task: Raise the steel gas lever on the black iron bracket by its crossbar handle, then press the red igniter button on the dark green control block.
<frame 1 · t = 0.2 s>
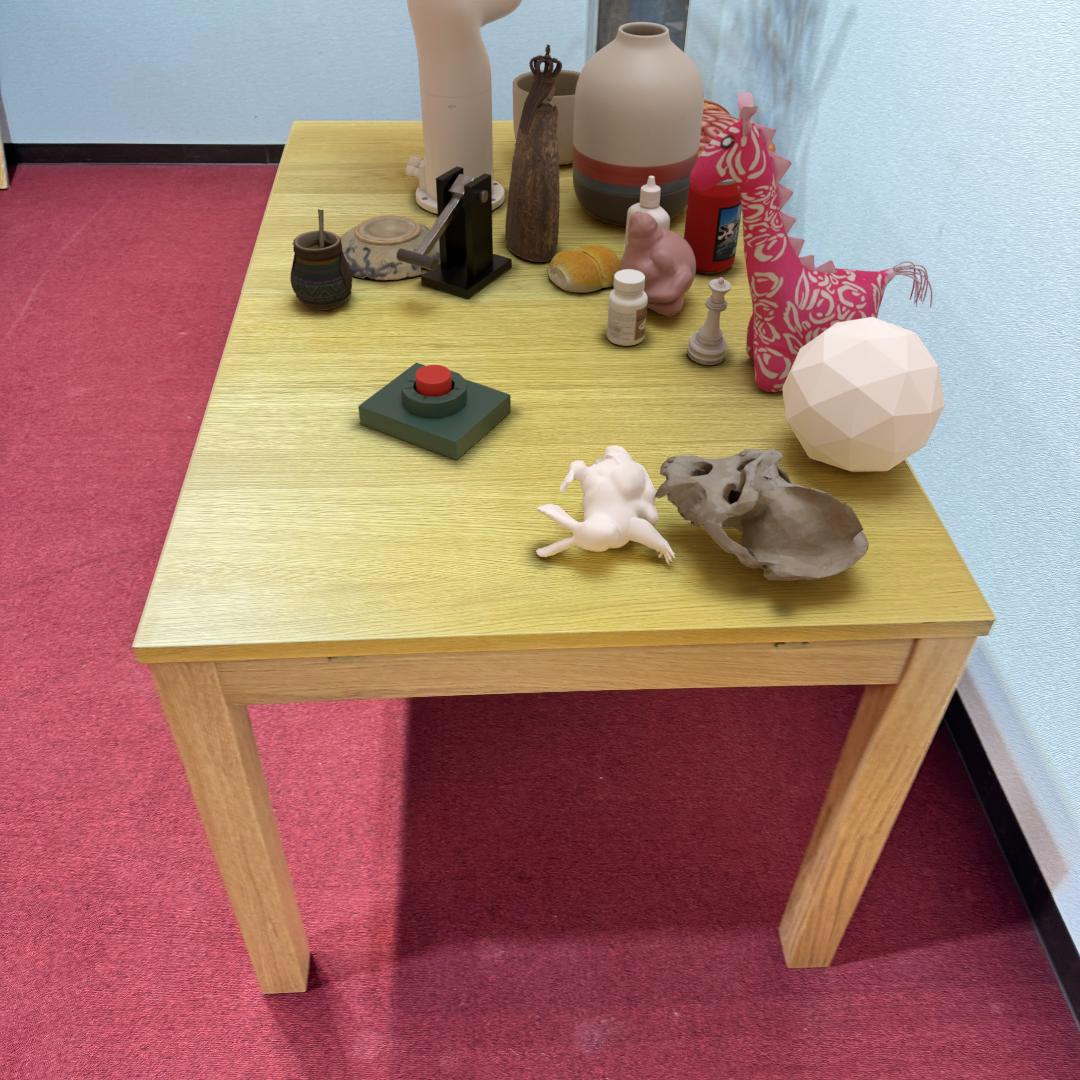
mate gourd: (324, 302, 130), on the table
eye dropper bottle: (644, 270, 138), on the table
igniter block: (436, 418, 112), on the table
toy: (793, 377, 119), on the table
statue: (533, 250, 142), on the table
geometric shape: (833, 378, 110), point 5 cm above the table
anatomical model: (752, 171, 152), point 4 cm above the table
rabbit figurine: (638, 511, 98), point 1 cm above the table, touching skull
beverage can: (707, 266, 139), on the table
pill bottle: (625, 339, 125), on the table
gas lever: (442, 222, 127), point 9 cm above the table, hinge at -25.0°
igniter button: (433, 381, 109), point 4 cm above the table, slide at 0.1 cm
lever bracket: (467, 276, 136), on the table
chess piece: (705, 355, 122), on the table
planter: (553, 157, 166), on the table
decorative bowl: (389, 255, 140), on the table
vase: (631, 210, 151), on the table
skull: (686, 543, 101), on the table, touching rabbit figurine
figurine: (658, 307, 130), on the table
bread roll: (584, 281, 135), on the table
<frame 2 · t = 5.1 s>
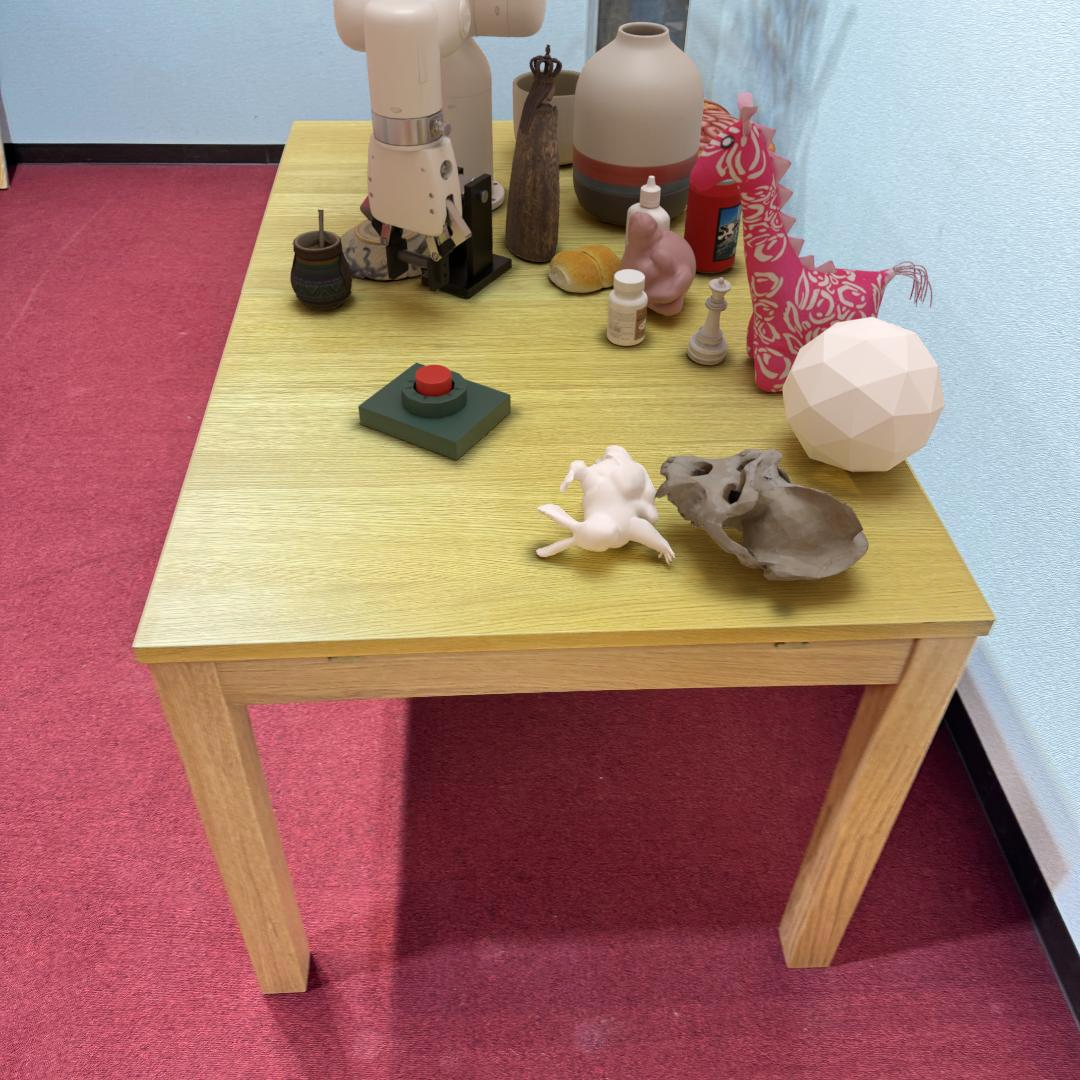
hand: (418, 279, 127), 4 cm above the table, tool pointing down, fingers closed on gas lever, 5 cm apart
gas lever: (442, 222, 127), point 9 cm above the table, hinge at -25.0°, touching gripper
everything else where it was.
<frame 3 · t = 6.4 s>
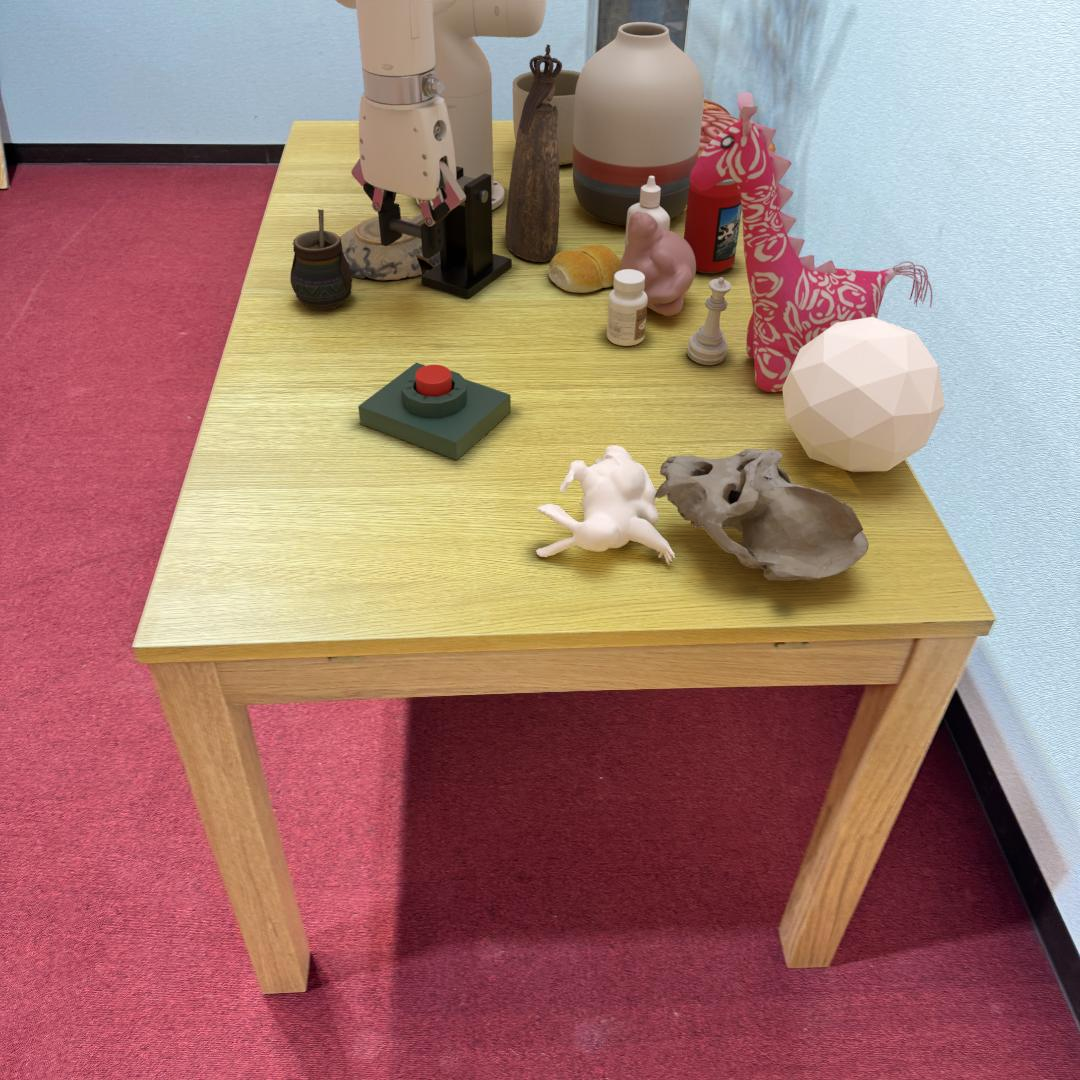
hand: (412, 246, 123), 8 cm above the table, tool pointing down, fingers closed on gas lever, 5 cm apart
gas lever: (439, 208, 125), point 11 cm above the table, hinge at -2.6°, touching gripper
everything else where it was.
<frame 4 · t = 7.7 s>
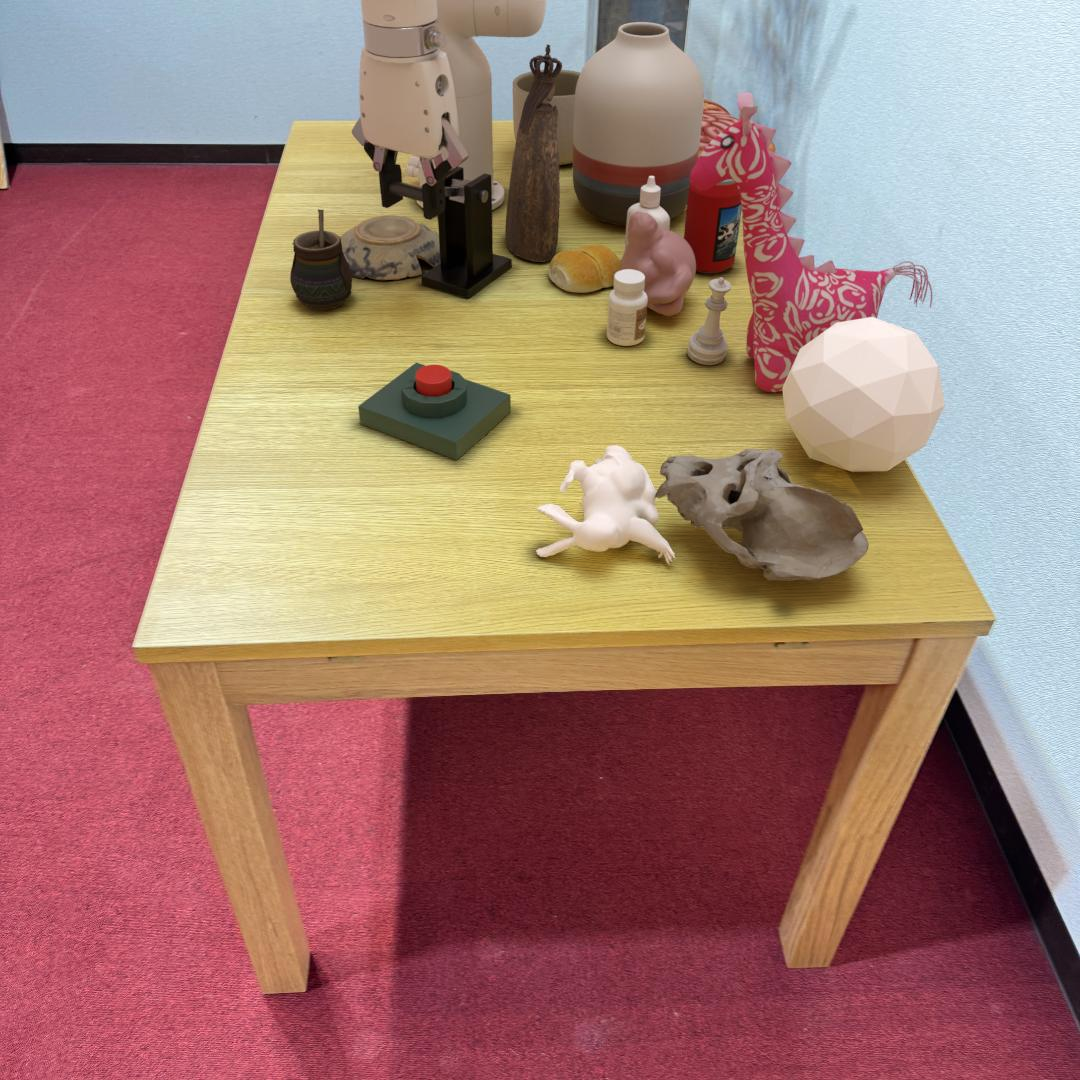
hand: (413, 207, 121), 13 cm above the table, tool pointing down, fingers closed on gas lever, 5 cm apart
gas lever: (439, 191, 124), point 13 cm above the table, hinge at 19.2°, touching gripper
everything else where it was.
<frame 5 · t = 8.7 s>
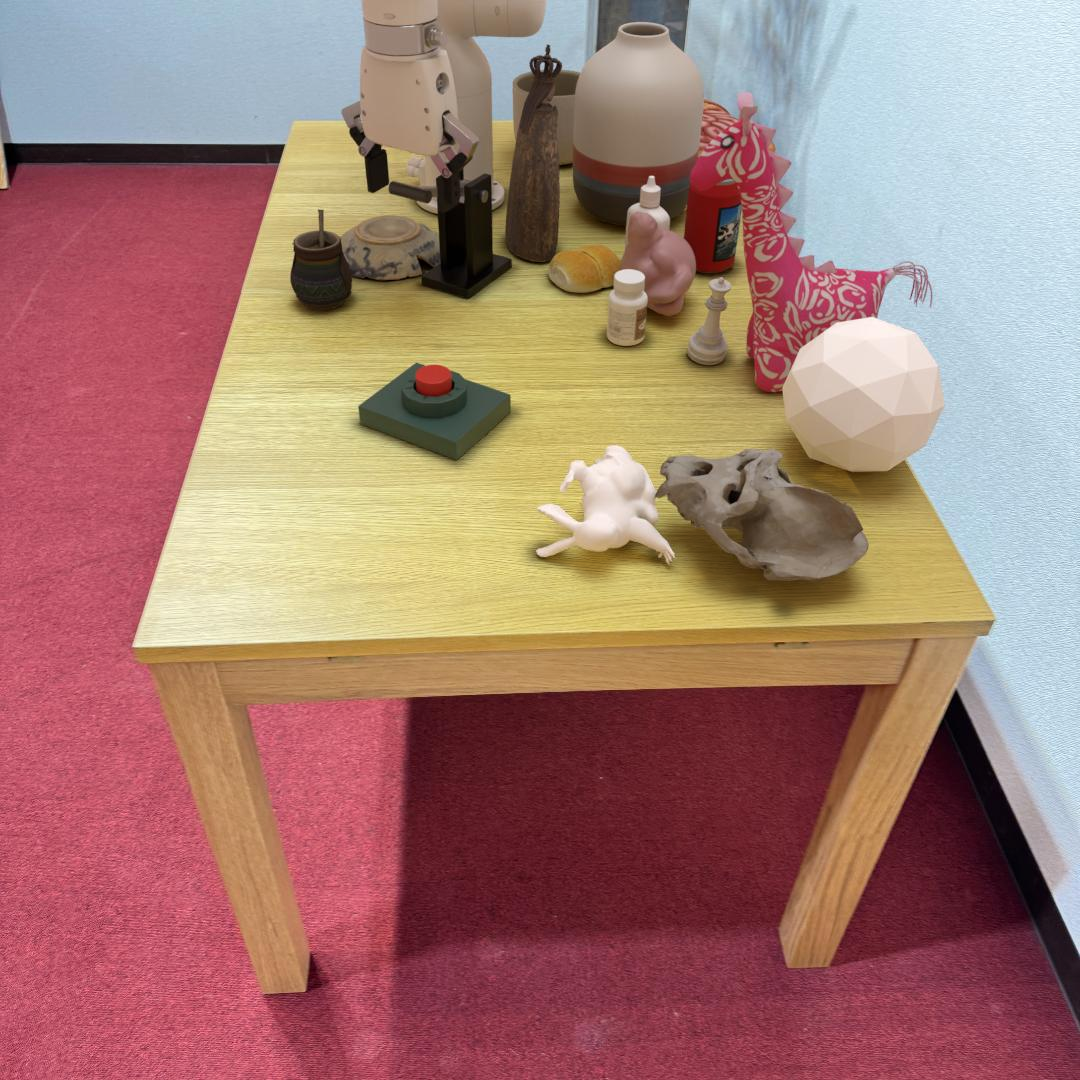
hand: (413, 198, 120), 14 cm above the table, tool pointing down, fingers open, 9 cm apart
gas lever: (439, 191, 124), point 13 cm above the table, hinge at 18.9°
everything else where it was.
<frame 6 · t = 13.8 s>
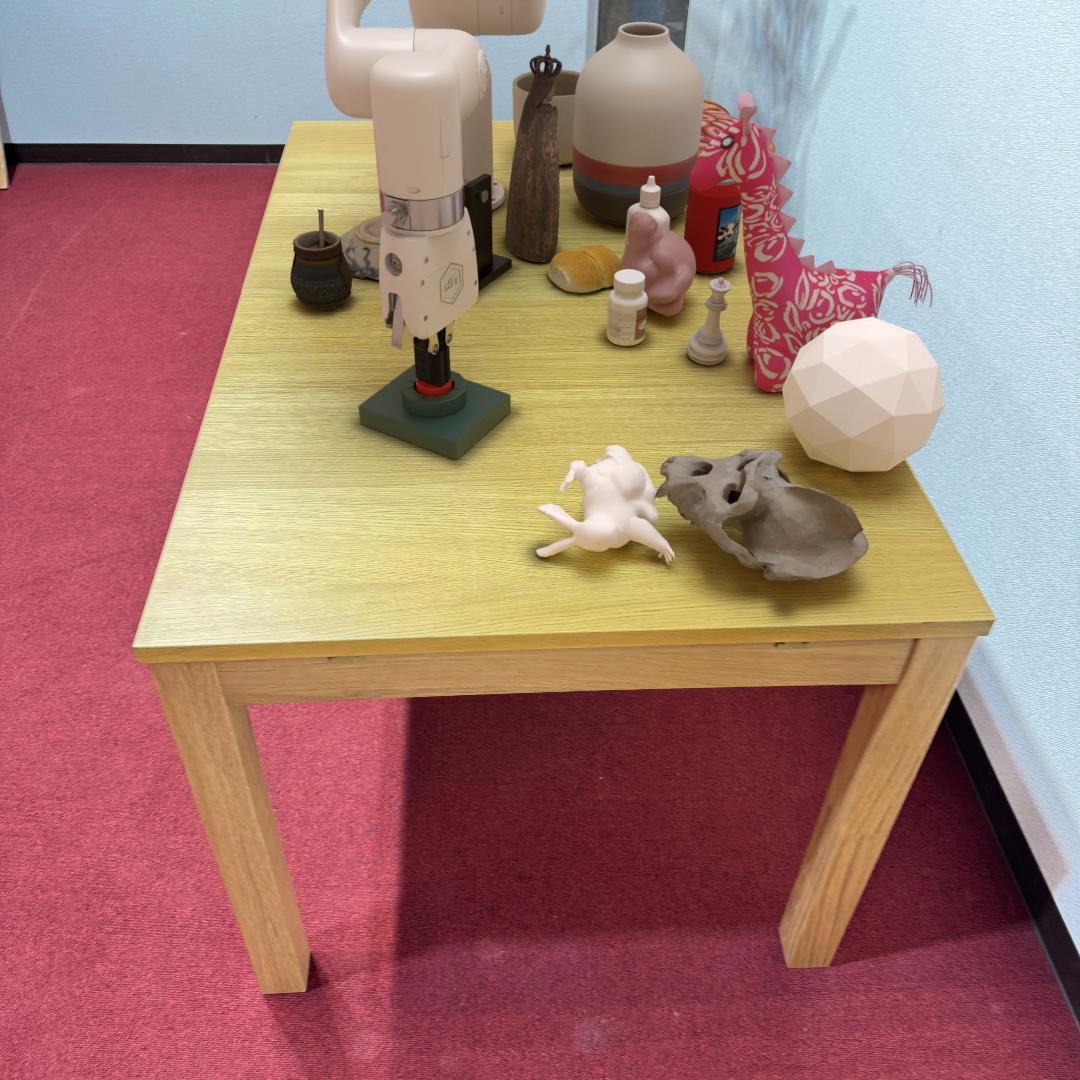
hand: (433, 379, 108), 5 cm above the table, tool pointing down, fingers closed
igniter button: (434, 386, 109), point 4 cm above the table, slide at -0.6 cm, touching gripper
everything else where it was.
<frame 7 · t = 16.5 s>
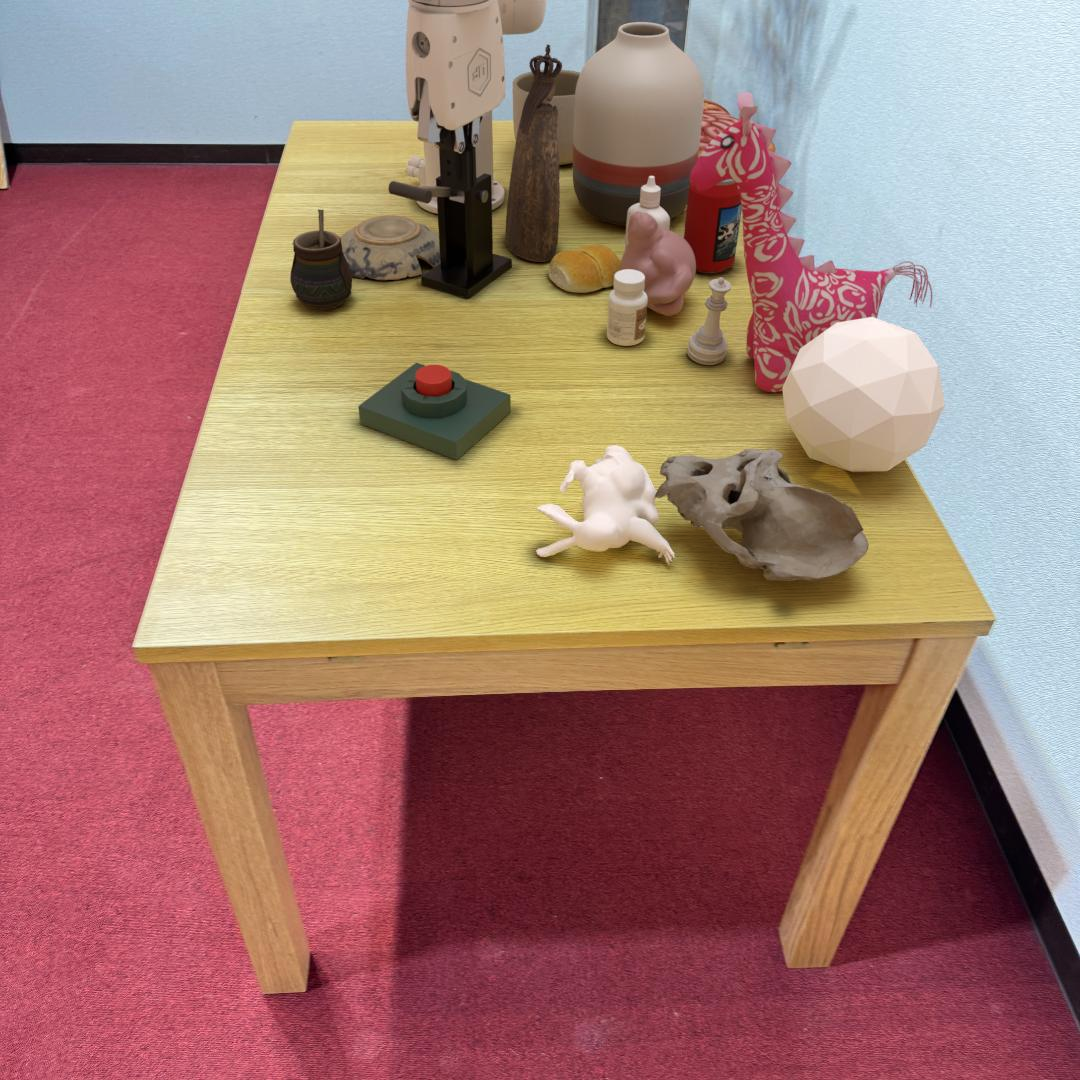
hand: (458, 185, 106), 20 cm above the table, tool pointing down, fingers closed
igniter button: (433, 381, 109), point 4 cm above the table, slide at 0.1 cm
everything else where it was.
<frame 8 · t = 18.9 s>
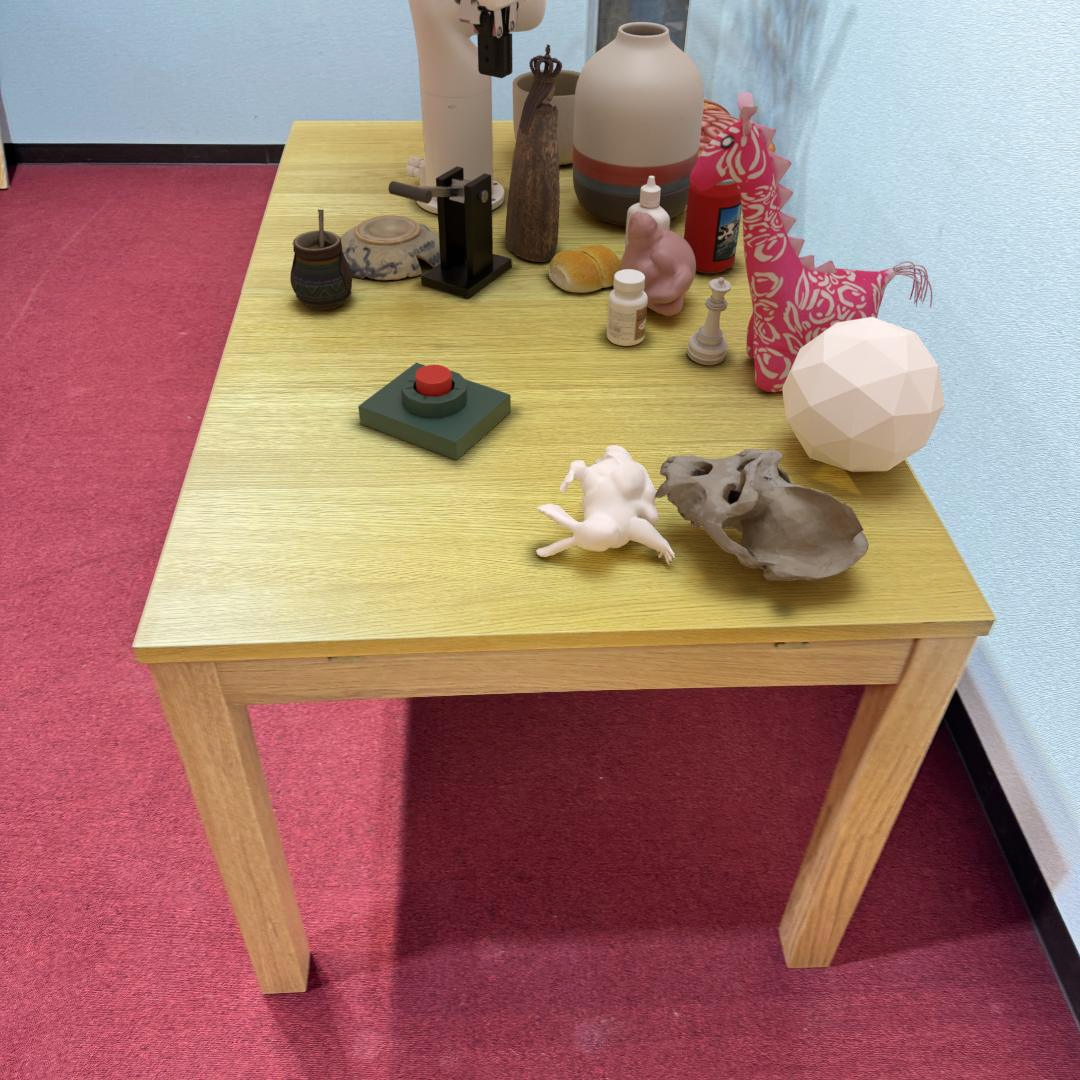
hand: (495, 73, 112), 27 cm above the table, tool pointing down, fingers closed
nothing on the table moved.
at the end: gas lever at +19° (first picture: -25°); igniter button pushed in 1.1 cm at the most during the clip, back to where it started at the end; igniter button slide at 0.1 cm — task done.
